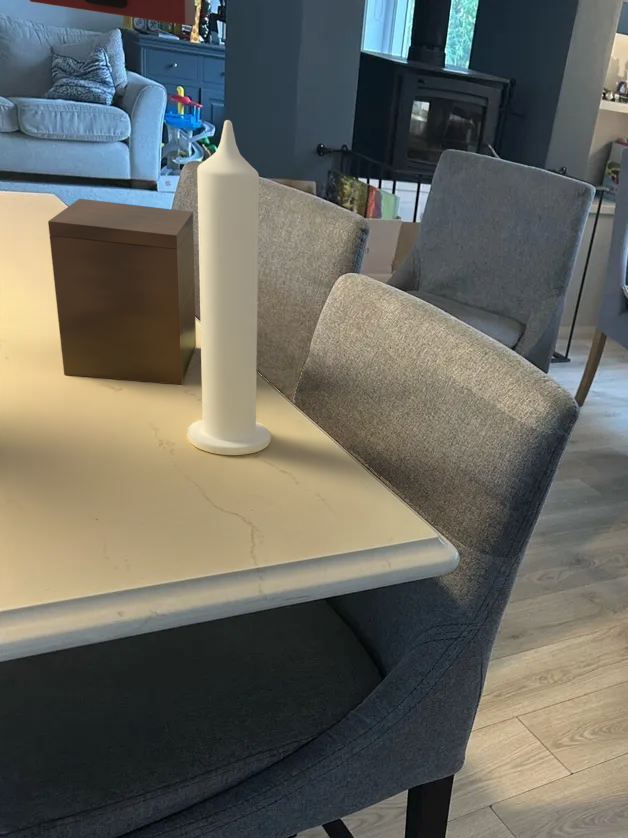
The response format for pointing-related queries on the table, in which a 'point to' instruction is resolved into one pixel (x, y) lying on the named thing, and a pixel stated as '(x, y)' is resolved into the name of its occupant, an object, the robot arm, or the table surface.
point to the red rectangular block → (139, 9)
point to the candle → (228, 302)
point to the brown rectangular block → (124, 290)
